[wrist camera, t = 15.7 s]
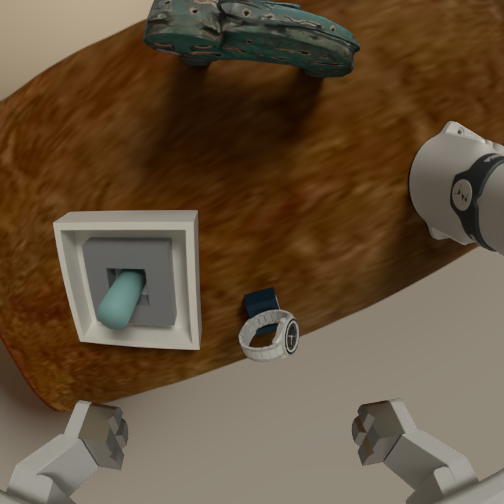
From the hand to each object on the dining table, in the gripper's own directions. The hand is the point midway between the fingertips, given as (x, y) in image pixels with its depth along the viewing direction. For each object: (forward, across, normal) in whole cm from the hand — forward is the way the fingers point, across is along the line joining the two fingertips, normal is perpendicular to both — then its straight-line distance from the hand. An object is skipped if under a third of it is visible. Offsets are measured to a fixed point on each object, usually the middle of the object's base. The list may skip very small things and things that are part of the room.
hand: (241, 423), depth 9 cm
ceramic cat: (+34, -2, -18) cm, 39 cm away
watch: (+34, -5, +17) cm, 39 cm away
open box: (+34, +14, +12) cm, 39 cm away
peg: (+33, +14, +12) cm, 38 cm away
